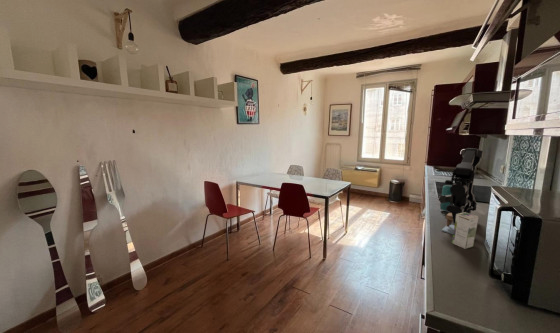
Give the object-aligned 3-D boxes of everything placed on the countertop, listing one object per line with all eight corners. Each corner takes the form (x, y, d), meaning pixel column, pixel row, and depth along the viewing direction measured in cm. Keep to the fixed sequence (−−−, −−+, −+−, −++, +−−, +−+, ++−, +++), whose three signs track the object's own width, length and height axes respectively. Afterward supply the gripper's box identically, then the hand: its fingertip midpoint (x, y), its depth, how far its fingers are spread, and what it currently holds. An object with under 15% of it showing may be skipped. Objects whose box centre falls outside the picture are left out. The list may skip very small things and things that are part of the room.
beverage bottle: (454, 213, 140) (458, 181, 137) (442, 213, 141) (446, 181, 138) (448, 210, 146) (452, 179, 143) (437, 209, 148) (441, 178, 144)
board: (448, 225, 124) (448, 223, 124) (469, 230, 117) (469, 229, 117) (441, 230, 117) (441, 229, 117) (463, 237, 110) (463, 235, 110)
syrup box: (459, 241, 107) (463, 211, 104) (474, 247, 102) (478, 216, 99) (451, 243, 105) (455, 213, 102) (465, 249, 100) (470, 217, 97)
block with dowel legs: (466, 228, 116) (468, 217, 115) (464, 231, 113) (466, 219, 111) (447, 223, 122) (449, 212, 121) (445, 226, 119) (446, 215, 117)
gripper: (447, 185, 126) (443, 212, 129) (435, 191, 114) (432, 221, 117) (473, 189, 117) (468, 218, 120) (463, 197, 106) (459, 229, 108)
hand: (456, 221), depth 117 cm, fingers closed on block with dowel legs, 5 cm apart
